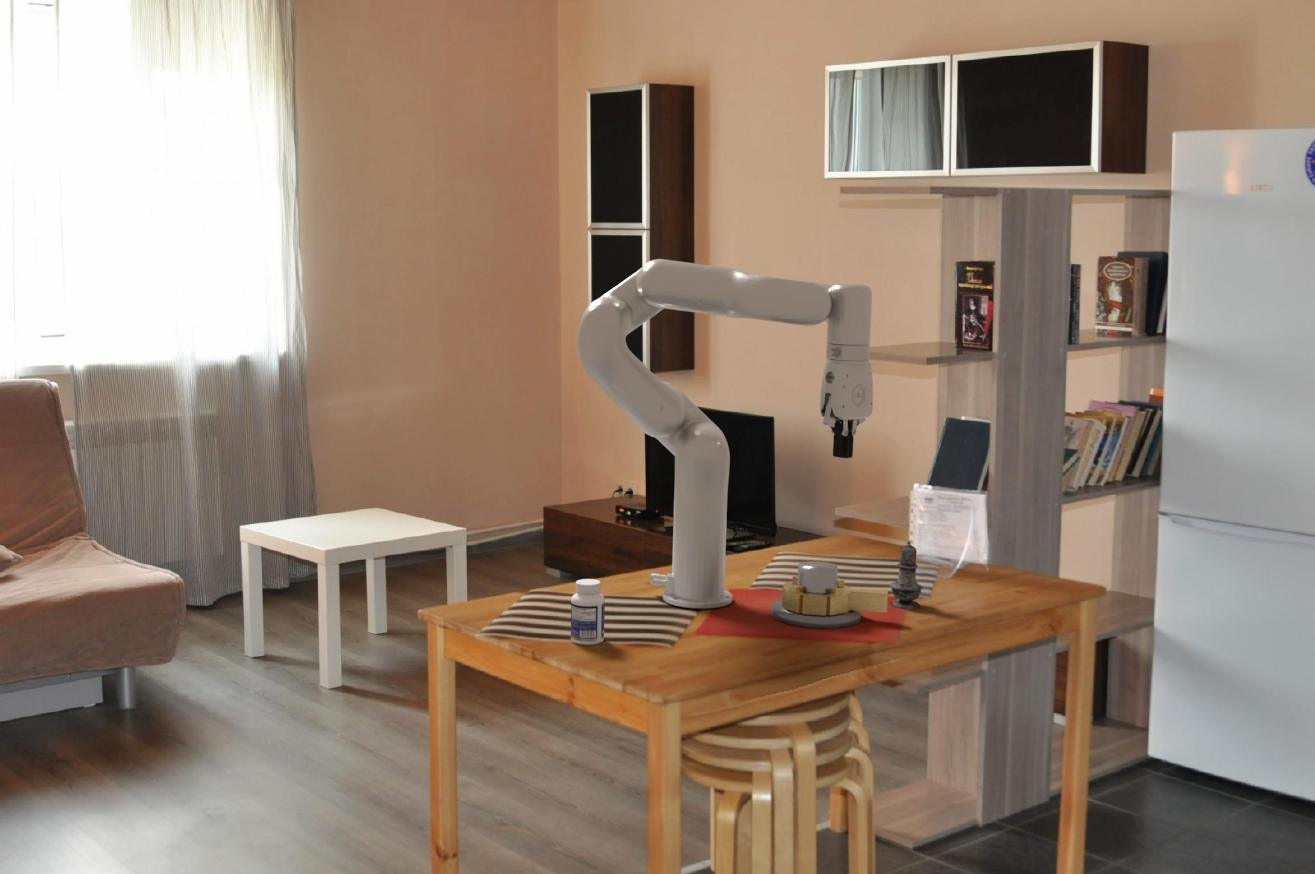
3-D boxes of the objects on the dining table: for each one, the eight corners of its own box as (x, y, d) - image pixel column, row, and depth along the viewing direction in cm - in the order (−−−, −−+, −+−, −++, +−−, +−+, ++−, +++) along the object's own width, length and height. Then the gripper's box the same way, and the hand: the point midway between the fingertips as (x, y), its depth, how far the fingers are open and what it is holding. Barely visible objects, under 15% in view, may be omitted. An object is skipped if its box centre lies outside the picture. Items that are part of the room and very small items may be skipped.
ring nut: (780, 612, 227) (781, 588, 227) (785, 595, 239) (786, 572, 238) (886, 620, 224) (887, 596, 224) (887, 602, 236) (888, 579, 235)
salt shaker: (921, 610, 238) (925, 545, 237) (888, 607, 239) (892, 542, 238) (922, 602, 244) (925, 538, 242) (889, 599, 245) (893, 536, 243)
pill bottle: (586, 634, 218) (587, 575, 216) (610, 640, 214) (612, 581, 213) (563, 640, 214) (564, 581, 212) (588, 647, 210) (589, 587, 209)
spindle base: (762, 622, 227) (764, 571, 226) (780, 600, 242) (782, 552, 241) (853, 632, 223) (856, 580, 222) (866, 609, 238) (869, 560, 236)
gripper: (838, 357, 226) (833, 463, 229) (889, 354, 237) (884, 456, 239) (804, 354, 231) (799, 458, 234) (855, 351, 242) (850, 451, 245)
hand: (842, 456), depth 237 cm, fingers closed
